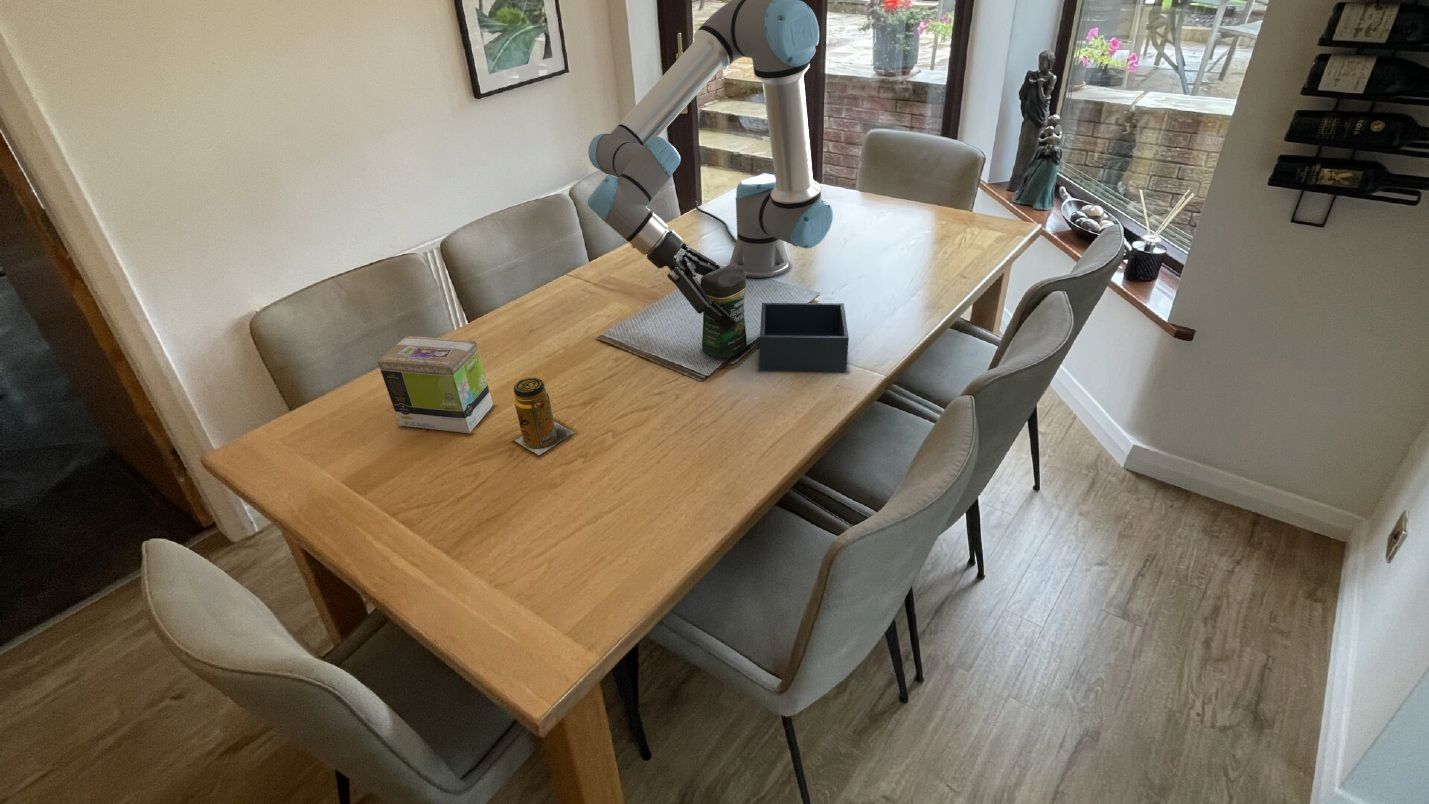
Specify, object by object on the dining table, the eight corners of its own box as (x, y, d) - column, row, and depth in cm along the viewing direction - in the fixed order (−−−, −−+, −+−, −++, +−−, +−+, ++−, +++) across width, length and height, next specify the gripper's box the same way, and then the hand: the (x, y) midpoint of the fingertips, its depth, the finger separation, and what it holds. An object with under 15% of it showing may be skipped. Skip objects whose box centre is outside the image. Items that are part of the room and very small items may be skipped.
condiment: (513, 441, 133) (500, 386, 126) (550, 419, 138) (539, 365, 132) (539, 456, 129) (526, 400, 122) (575, 433, 135) (565, 378, 128)
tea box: (494, 405, 143) (478, 339, 135) (469, 435, 135) (450, 367, 127) (426, 397, 146) (406, 333, 138) (397, 427, 138) (374, 360, 130)
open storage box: (761, 335, 162) (761, 302, 158) (841, 335, 161) (843, 303, 156) (759, 371, 150) (759, 337, 146) (846, 372, 149) (848, 338, 144)
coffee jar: (724, 365, 152) (721, 284, 142) (696, 353, 157) (692, 274, 146) (753, 347, 158) (753, 268, 148) (726, 336, 163) (724, 258, 152)
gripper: (654, 231, 156) (726, 295, 164) (634, 281, 136) (716, 351, 143) (677, 207, 153) (749, 273, 160) (660, 254, 133) (743, 328, 140)
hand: (734, 310), depth 152 cm, fingers open, 13 cm apart
